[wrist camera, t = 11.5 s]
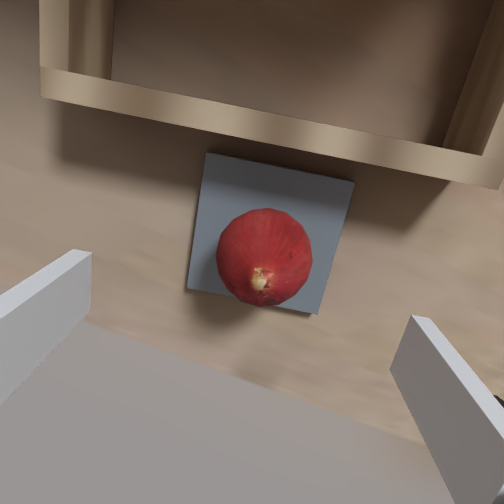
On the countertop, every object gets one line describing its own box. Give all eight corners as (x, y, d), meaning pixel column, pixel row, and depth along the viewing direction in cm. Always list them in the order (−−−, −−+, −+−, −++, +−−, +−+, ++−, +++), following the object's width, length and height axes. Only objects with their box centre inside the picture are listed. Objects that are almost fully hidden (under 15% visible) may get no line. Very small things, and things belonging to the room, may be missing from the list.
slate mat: (189, 282, 28) (186, 287, 27) (208, 151, 24) (206, 152, 23) (315, 308, 28) (317, 314, 27) (352, 180, 24) (355, 182, 23)
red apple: (310, 273, 26) (324, 334, 18) (231, 280, 26) (213, 342, 19) (303, 193, 24) (315, 223, 16) (219, 203, 24) (192, 237, 17)
